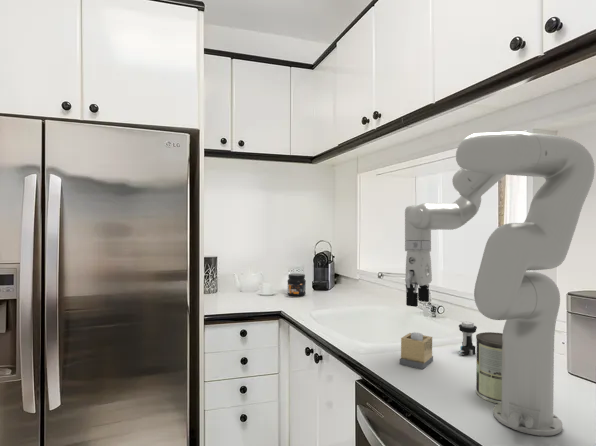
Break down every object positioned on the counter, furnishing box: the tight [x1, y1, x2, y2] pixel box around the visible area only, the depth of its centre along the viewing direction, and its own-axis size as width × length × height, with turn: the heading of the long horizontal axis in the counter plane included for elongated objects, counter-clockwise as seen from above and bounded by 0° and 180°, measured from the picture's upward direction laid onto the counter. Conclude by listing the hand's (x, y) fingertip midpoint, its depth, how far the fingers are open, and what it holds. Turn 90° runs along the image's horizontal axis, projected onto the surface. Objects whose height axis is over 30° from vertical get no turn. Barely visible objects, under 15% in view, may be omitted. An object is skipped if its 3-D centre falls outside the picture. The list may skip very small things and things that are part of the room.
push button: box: [458, 321, 478, 357], centre depth 125 cm, size 7×5×10 cm
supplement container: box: [286, 273, 307, 298], centre depth 225 cm, size 10×10×12 cm
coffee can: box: [475, 331, 503, 405], centre depth 95 cm, size 10×10×14 cm
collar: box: [400, 332, 433, 363], centre depth 118 cm, size 7×7×6 cm
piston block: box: [399, 332, 434, 370], centre depth 118 cm, size 9×7×8 cm
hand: (417, 303), depth 117 cm, fingers open, 9 cm apart
